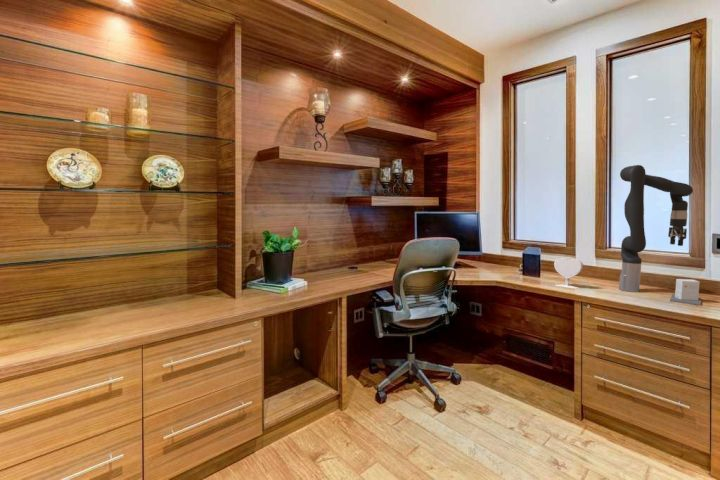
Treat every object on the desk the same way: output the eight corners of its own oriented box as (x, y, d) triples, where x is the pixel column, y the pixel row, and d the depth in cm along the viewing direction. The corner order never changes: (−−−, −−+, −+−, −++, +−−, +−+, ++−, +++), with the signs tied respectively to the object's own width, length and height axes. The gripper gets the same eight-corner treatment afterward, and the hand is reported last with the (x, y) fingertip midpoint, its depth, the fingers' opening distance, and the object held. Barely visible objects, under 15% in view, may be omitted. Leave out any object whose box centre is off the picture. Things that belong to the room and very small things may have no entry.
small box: (691, 298, 196) (693, 279, 195) (698, 300, 190) (700, 281, 189) (674, 297, 198) (676, 278, 197) (680, 299, 192) (682, 280, 191)
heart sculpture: (581, 288, 223) (583, 259, 221) (579, 289, 219) (581, 260, 217) (555, 283, 234) (556, 256, 232) (552, 285, 231) (553, 257, 229)
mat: (700, 305, 184) (700, 304, 184) (669, 301, 192) (670, 299, 192) (700, 299, 197) (701, 297, 197) (672, 295, 205) (672, 294, 205)
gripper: (693, 218, 205) (690, 246, 206) (679, 218, 218) (677, 244, 220) (677, 218, 207) (675, 246, 208) (664, 217, 220) (662, 243, 222)
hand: (676, 245), depth 214 cm, fingers open, 8 cm apart
